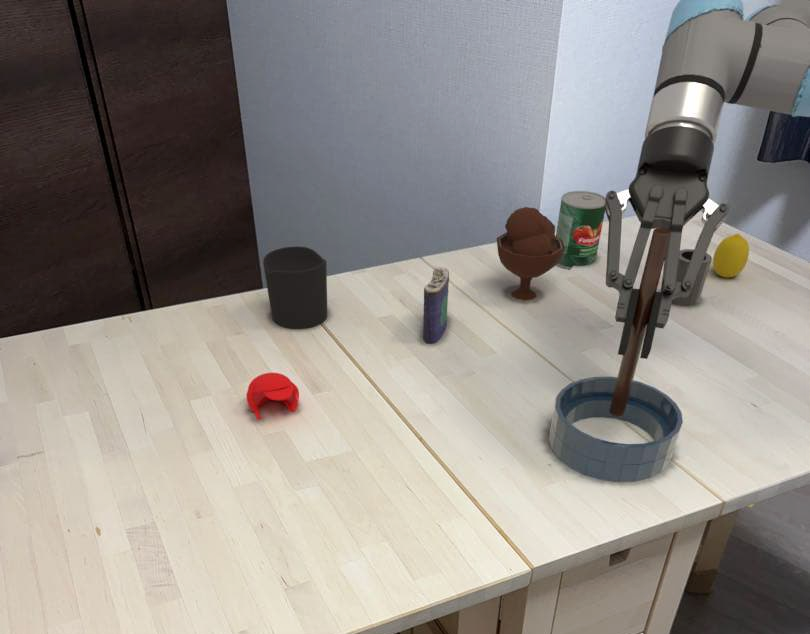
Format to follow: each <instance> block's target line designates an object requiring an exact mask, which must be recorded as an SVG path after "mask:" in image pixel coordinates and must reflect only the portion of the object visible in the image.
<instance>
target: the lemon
mask: <svg viewBox="0 0 810 634" xmlns="http://www.w3.org/2000/svg"><path fill="white" fill-rule="evenodd" d="M749 256H750V245H749V243H748V240H747V239H746V238H744V237H743V236H742V235H741V234H740V233H735V234H731V235H728V236H726V237H725V238H723V239H722V240H721V241H720V243H719V244H718V246H717V247H716V249H715V252H714V254H713V257H712V267H713V270H714V271H715V273H716V274H717V275H718V276H720V277H722V278H725V279H727V278H733V277H735V276H738V275H739V274H740V273H741V272H742V271H743V270H744V268H745V267H746V264H747V263H748V260H749Z"/></svg>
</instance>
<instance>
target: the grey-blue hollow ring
mask: <svg viewBox="0 0 810 634" xmlns="http://www.w3.org/2000/svg"><path fill="white" fill-rule="evenodd" d="M617 378H618V376H591V377H587V378H581V379H578V380H575V381H573V382H569V384H567V385H565V387H563V388H562V389H560V391H559V392H558V394H557V395H556V397H555V400H554V406H553V412H552V417H551V423H550V428H549V436H548V442H549V445H550V448H551V451H552V452H553V453H554V455H555V456H556V457H557V458H558V460H559V461H560V462H562V463H563V464H565V465H566V466H567V467H568V468H570V469H572V470H574V471H576V472H578V473H580V474H582V475H584V476H587V477H590V478H594V479H597V480H601V481H608V482H616V483H628V482H630V483H632V482H638V481H643V480H647V479H650V478H653V477H655V476H656V475H659V474H661V473H662V472H663V471H664V470H665V469H666V468H668V466H669V465H670V462H671V460H672V457H673V453H674V451H675V448H676V445H677V441H678V438H679V435H680V433H681V430H682V426H683V423H684V419H683V414H682V411H681V409H680V407H679V406H678V404H677V403H676V402H675V401H674V400H673V399H672V398H671V397H670V396H669V395H668V394H666V393H664V392H663V391H661V390H660V389H658V388H656V387H655V386H651V385H649V384H647V383H645V382H641V381H638V380H635V379H633V382H632V386H631V390H630V393H629V397H628V401H627V405H626V409H625V413H624V415H623V416H620V417H617V416H613V415H611V414H610V412H609V410H610V406H611V402H612V398H613V394H614V390H615V386H616V382H617ZM592 418H608V419H616V420H620V421H624V422H627V423H629V424H632V425H634V426H637V427H638V428H640V429H642V431H644V432H645V433H647V434H648V435H649V436H650V437H651V438H652V439H653V441H649V442H643V443H621V442H613V441H609V440H605V439H601V438H598V437H595V436H592V435H591V434H588V433H586V432H583V431H582V430H580V429H579V428H577V427H576V426H574V425H573V424H574V423H576V422H579V421H581V420H586V419H592Z"/></svg>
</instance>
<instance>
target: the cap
mask: <svg viewBox="0 0 810 634" xmlns="http://www.w3.org/2000/svg"><path fill="white" fill-rule="evenodd" d="M299 400H300V391H299V388H298V386H297V385H296V384H295V383H294V382H292V380H291V379H290V378H289V377H288V376H287V375H285V374H282V373H279V372H265V373H262V374H259V375H258V376H255V378H252V380H251V382H250V383H249V384H248V387H247V391H246V402H247V404H248V406H249V408H250V411H251V412H253V413H254V416H255V419H256V421H261V420H262V416H261V413H260V410H259V409H260V407H261V406H262V405H264V403H266V402H269V401H280V402H282V403H284V404H285V405H286V406H287V412H288V413H289V412H291V413H295V412H296V409H297V407H298V405H299Z"/></svg>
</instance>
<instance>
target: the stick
mask: <svg viewBox="0 0 810 634" xmlns="http://www.w3.org/2000/svg"><path fill="white" fill-rule="evenodd" d="M670 237H671V231H670V230H668V229H665V228H656V229H653V232H652V235H651V239H650V242H649V248H648V252H647V255H646V260H645V263H644V268H643V271H642V276H641V281H640V283H639V284H640V285H639V288H638V289H640V291H639V295H638V300H637V305H636V309H635V314H634V319H633V323H632V328H631V333H630V337H629V342H628V347H627V350H626V353H625V355H622V358H621V362H620V365H619V369H618V373H617V377H618V378H617V382H616V386H615V390H614V394H613V398H612V402H611V406H610V410H609V412H610V414H611V415H613V416H617V417H620V416H623V415H624V413H625V409H626V405H627V401H628V397H629V393H630V390H631V386H632V382H633V380H634V379H635V373H636V371H637V368H638V367H637V366H638V362H639V359H640V356H641V351H642V347H643V342H644V337H645V333H646V328H647V323H648V320H649V316H650V312H651V308H652V304H653V301H654V297H655V293H656V292H657V290H658V286H659V283H660V279H661V276H662V275H661V274H662V272H663V268H664V260H665V256H666V252H667V248H668V245H669V241H670Z"/></svg>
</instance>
